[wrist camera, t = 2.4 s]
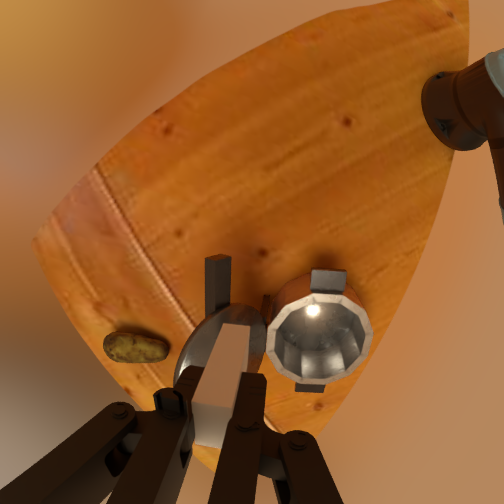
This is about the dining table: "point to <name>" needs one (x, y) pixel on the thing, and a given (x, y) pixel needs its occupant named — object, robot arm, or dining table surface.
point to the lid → (221, 320)
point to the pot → (317, 329)
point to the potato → (134, 348)
